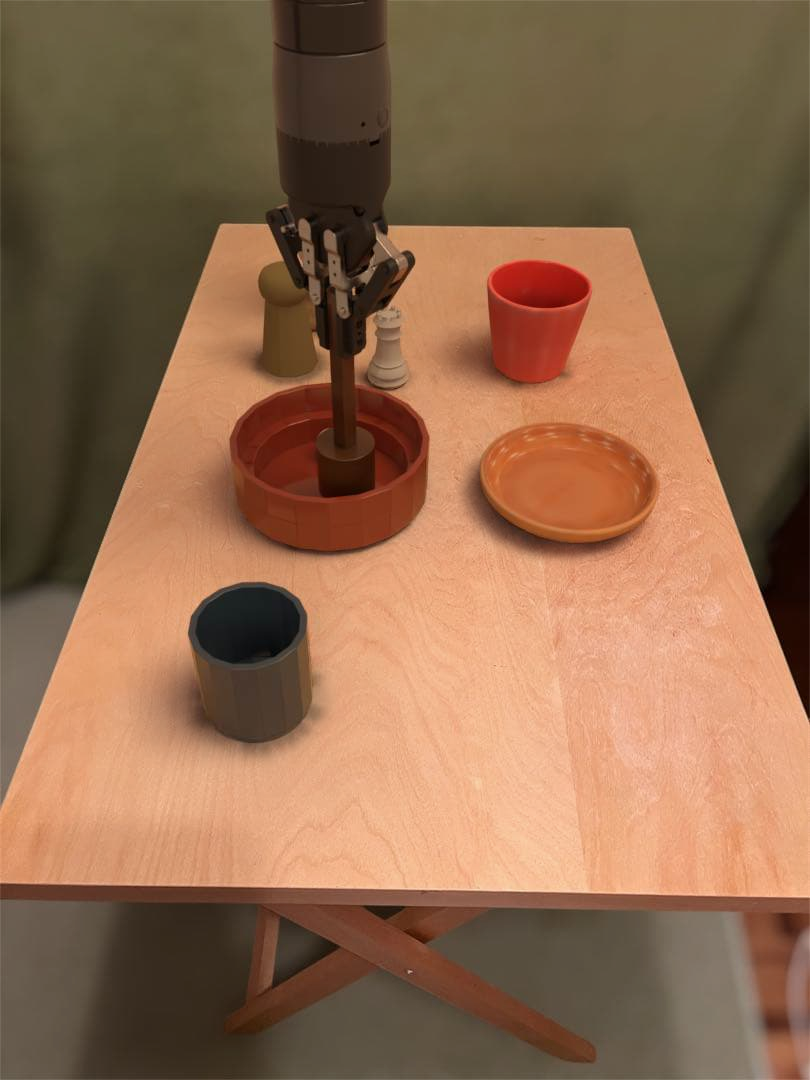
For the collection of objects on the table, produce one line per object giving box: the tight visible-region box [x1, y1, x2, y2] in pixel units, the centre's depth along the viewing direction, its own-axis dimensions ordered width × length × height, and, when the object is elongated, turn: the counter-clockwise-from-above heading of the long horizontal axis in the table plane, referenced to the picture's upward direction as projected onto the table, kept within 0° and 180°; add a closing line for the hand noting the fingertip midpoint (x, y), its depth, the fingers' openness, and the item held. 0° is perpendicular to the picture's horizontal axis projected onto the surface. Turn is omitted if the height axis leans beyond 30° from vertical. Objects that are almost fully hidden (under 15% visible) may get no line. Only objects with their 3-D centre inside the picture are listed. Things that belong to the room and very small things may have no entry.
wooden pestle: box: [316, 287, 375, 498], centre depth 74 cm, size 5×5×19 cm
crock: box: [187, 581, 314, 743], centre depth 63 cm, size 8×8×8 cm
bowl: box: [228, 381, 431, 552], centre depth 81 cm, size 17×17×6 cm
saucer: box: [479, 421, 661, 544], centre depth 82 cm, size 16×16×3 cm
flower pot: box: [486, 259, 593, 384], centre depth 97 cm, size 11×11×10 cm
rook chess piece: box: [367, 305, 410, 390], centre depth 94 cm, size 4×4×8 cm
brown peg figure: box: [257, 260, 318, 378], centre depth 96 cm, size 6×6×11 cm
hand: (341, 349), depth 71 cm, fingers closed on wooden pestle, 1 cm apart
